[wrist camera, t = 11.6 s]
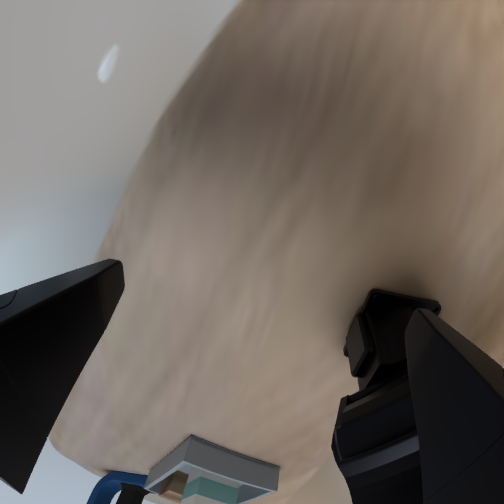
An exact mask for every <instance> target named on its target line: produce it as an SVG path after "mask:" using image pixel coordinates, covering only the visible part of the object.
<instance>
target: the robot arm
mask: <svg viewBox="0 0 504 504" xmlns="http://www.w3.org/2000/svg"><path fill="white" fill-rule="evenodd" d="M124 287H125V282H124V272H123V264H122V262H121V261H119V260H114V259H107V260H103V261H100V262H97V263H94V264H91V265H88V266H85V267H82V268H79V269H76V270H73V271H70V272H67V273H64V274H61V275H58V276H55V277H52V278H49V279H46V280H43V281H40V282H37V283H34V284H31V285H28V286H25V287H22V288H20V289H18V290H14V291H11V292H8V293H5V294H2V295H0V480H2V481H3V482H5V483H6V484H7V485H9V486H10V487H11V488H13V489H14V490H16V491H17V492H19V493H20V494H22V493H23V492H24V489H25V487H26V485H27V482H28V480H29V477H30V475H31V473H32V471H33V468H34V466H35V464H36V462H37V459H38V457H39V455H40V453H41V451H42V448H43V446H44V444H45V442H46V440H47V437H48V435H49V433H50V431H51V429H52V427H53V425H54V423H55V421H56V419H57V417H58V415H59V413H60V411H61V409H62V407H63V405H64V403H65V401H66V399H67V397H68V396H69V394H70V392H71V390H72V388H73V386H74V384H75V382H76V381H77V379H78V377H79V375H80V373H81V371H82V370H83V368H84V366H85V364H86V362H87V361H88V359H89V357H90V355H91V354H92V352H93V350H94V348H95V347H96V345H97V343H98V342H99V340H100V338H101V336H102V335H103V333H104V331H105V329H106V328H107V325H108V323H109V321H110V319H111V317H112V315H113V313H114V310H115V308H116V306H117V304H118V302H119V300H120V298H121V296H122V293H123V291H124ZM375 295H378V296H377V297H376V298H373V296H375ZM435 307H437V308H436V309H434V308H435ZM433 309H434V310H433ZM440 311H441V305H440V304H439V302H436V301H431V300H426V299H421V298H416V297H412V296H407V295H402V294H397V293H392V292H387V291H383V290H378V289H374V290H372V291H370V292H369V294H368V296H367V299H366V301H365V303H364V306H363V308H362V310H361V312H360V313H359V314H357V315H356V317H355V319H354V322H353V324H352V326H351V328H350V330H349V333H348V335H347V337H346V345H345V347H344V350H343V351H344V355H345V356H346V357H349V363H350V370H351V374H352V376H353V377H357V378H358V384H359V391H358V392H356V393H354V394H352V395H350V396H349V395H347V396H345V397H343V398H341V401H340V406H339V410H338V415H337V420H336V424H335V428H334V433H333V438H332V445H331V448H332V451H333V454H334V458H335V461H336V463H337V465H338V468H339V469H340V471H341V472H342V474H343V476H344V478H345V480H346V483H347V485H348V488H349V490H350V494H351V498H352V503H353V504H504V368H502V366H501V365H499V364H498V363H497V362H496V361H494V360H493V359H492V358H491V357H489V356H488V355H487V354H486V353H484V352H483V351H482V350H481V349H479V348H478V347H477V346H476V345H474V344H473V343H472V342H470V341H469V340H468V339H467V338H465V337H464V336H463V335H461V334H460V333H459V332H457V331H456V330H455V329H454V328H452V327H451V326H450V325H448V324H447V323H446V322H444V321H443V320H442V319H440V318H439V317H438V315H439V313H440Z"/></svg>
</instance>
